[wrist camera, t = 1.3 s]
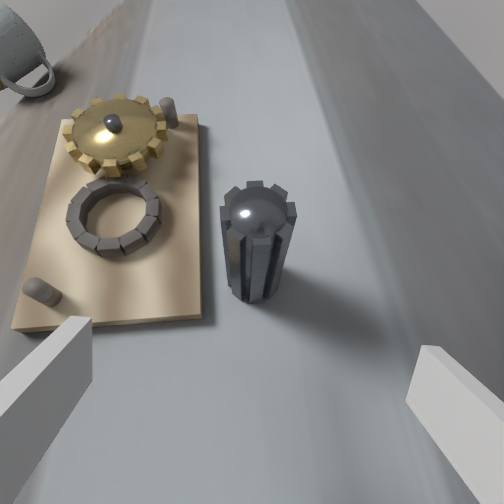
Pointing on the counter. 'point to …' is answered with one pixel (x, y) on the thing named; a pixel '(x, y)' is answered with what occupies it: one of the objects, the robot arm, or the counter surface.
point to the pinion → (256, 238)
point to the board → (118, 239)
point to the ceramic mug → (20, 54)
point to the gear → (116, 135)
